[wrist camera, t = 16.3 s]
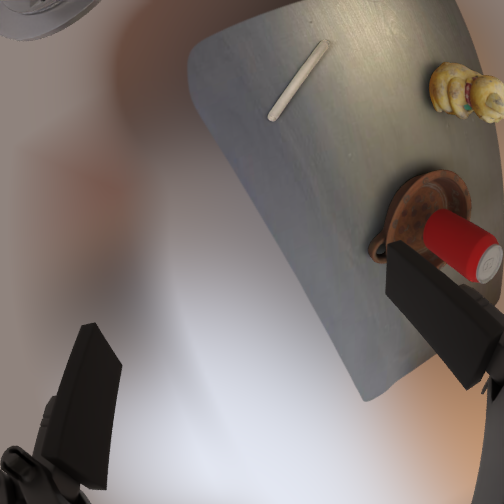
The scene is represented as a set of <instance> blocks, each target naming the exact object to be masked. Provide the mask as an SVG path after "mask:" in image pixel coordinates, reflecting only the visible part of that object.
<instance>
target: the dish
mask: <svg viewBox="0 0 504 504" xmlns="http://www.w3.org/2000/svg"><path fill="white" fill-rule="evenodd" d="M439 209H448V210H450V211H452V212H454V213H455V214H457V215H459V216H461V217H463V218H465V219H467V220H468V221H470V217H471V198H470V194H469V191H468V189H467V186H466V184H465V183H464V181H463V180H462V179H461V178H460V177H459V176H458V175H457V174H456V173H454V172H452V171H449V170H443V169H440V170H435V171H432V172H429V173H427V174H422V175H419V176H416V177H414V178H412V179H410V180H409V181H407V182H406V183H405V184H404V185H403V186H402V187H401V188H400V189H399V190H398V191H397V193H396V194H395V196H394V198H393V200H392V202H391V204H390V206H389V209H388V212H387V215H386V219H385V224H384V228H383V230H382V231H381V232H380V233H379V234H378V235H377V236H376V237H375V238H374V239H373V240H372V241H371V243H370V245H369V248H368V252H369V255H370V257H371V258H372V259H373V260H374V262H377V263H387V244H389V243H392V242H395V241H398V240H402V241H403V242H404V243H406V244H407V245H408V246H410V247H411V248H412V249H414V250H415V251H416V252H418V253H419V254H420V255H421V256H423V257H424V258H425V259H426V260H428V261H429V262H430V263H431V264H433V265H434V266H435V267H436V268H438V269H439V270H440V269H441V268H442V267H444V266H445V265H446V264H447V263H446V262H445V261H443V260H442V259H441V258H439V257H438V256H437V255H436V254H434V253H433V252H432V251H430V250H429V249H428V248H427V247H426V246H425V244H424V240H423V232H424V228H425V225H426V223H427V221H428V219H429V218H430V216H431V215H432V214H433V213H434V212H435V211H437V210H439ZM381 244H385V245H386V251H385V252H384V253H382V254H376V251H377V249H378V247H379V246H380V245H381Z"/></svg>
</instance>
